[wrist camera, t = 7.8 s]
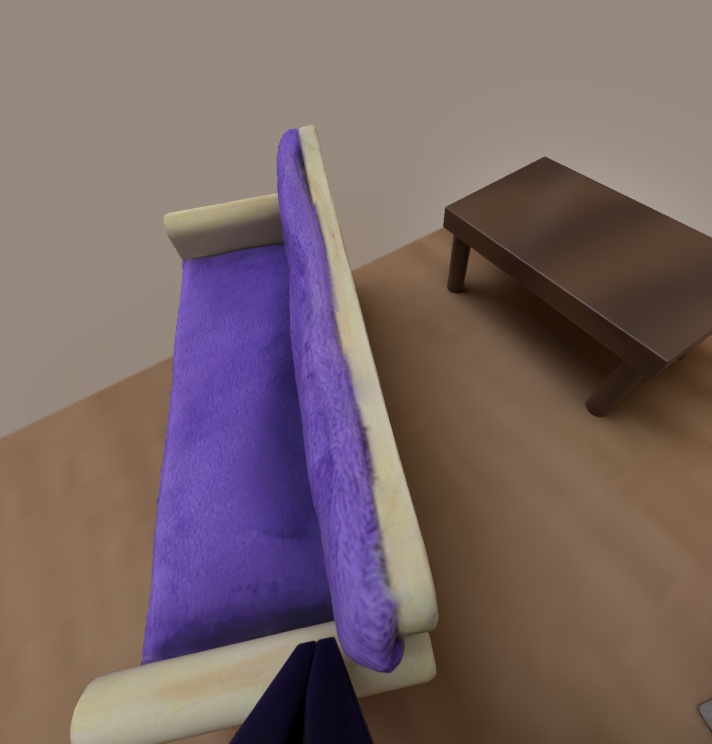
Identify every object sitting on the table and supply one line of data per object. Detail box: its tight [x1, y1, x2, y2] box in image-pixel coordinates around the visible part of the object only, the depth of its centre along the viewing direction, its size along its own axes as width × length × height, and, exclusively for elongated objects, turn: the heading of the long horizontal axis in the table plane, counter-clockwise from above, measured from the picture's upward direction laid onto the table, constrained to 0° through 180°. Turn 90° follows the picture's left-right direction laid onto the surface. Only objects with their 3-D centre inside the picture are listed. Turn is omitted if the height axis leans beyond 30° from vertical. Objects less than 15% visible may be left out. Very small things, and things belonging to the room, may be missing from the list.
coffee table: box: [443, 157, 712, 416], centre depth 19 cm, size 12×7×6 cm, turn 32°
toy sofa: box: [70, 125, 439, 744], centre depth 15 cm, size 21×9×10 cm, turn 10°
